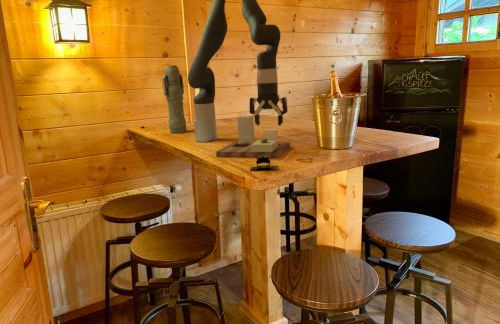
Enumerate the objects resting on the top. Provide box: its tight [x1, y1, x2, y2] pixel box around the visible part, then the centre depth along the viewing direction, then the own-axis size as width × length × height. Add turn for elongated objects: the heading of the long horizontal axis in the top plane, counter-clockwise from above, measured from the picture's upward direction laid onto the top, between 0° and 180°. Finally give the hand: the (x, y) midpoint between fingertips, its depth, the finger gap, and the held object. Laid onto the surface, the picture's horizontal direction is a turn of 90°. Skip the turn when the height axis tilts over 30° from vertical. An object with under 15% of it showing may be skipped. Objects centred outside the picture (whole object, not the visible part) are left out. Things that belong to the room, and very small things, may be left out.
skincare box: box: [236, 114, 256, 142], centre depth 167 cm, size 6×4×12 cm
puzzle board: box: [215, 141, 291, 159], centre depth 150 cm, size 24×18×2 cm
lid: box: [251, 138, 277, 152], centre depth 141 cm, size 8×8×4 cm
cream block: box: [262, 128, 279, 147], centre depth 149 cm, size 4×4×8 cm
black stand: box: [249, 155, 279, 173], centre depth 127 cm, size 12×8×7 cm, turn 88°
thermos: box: [161, 64, 187, 135], centre depth 206 cm, size 9×12×35 cm
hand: (268, 125), depth 148 cm, fingers open, 8 cm apart
